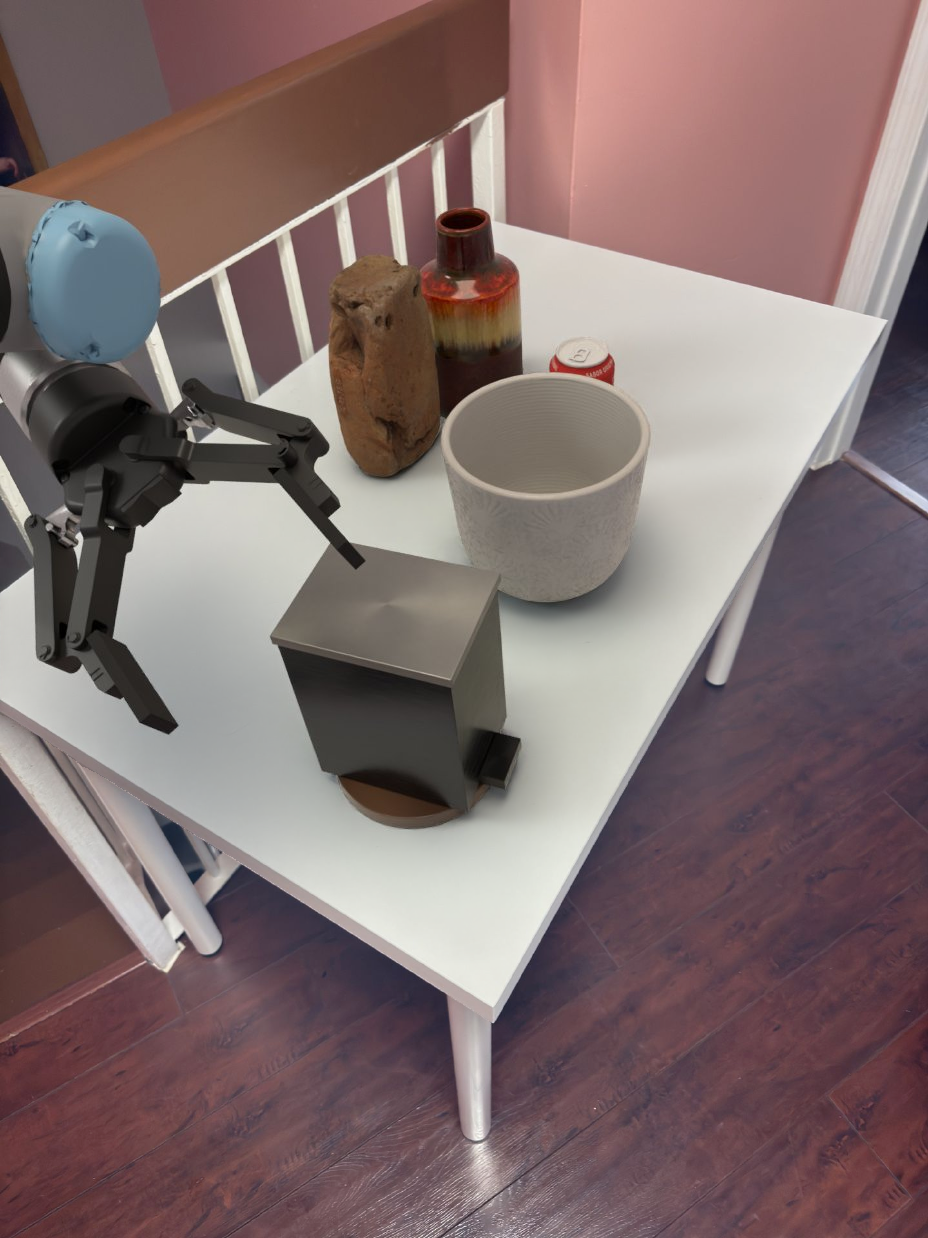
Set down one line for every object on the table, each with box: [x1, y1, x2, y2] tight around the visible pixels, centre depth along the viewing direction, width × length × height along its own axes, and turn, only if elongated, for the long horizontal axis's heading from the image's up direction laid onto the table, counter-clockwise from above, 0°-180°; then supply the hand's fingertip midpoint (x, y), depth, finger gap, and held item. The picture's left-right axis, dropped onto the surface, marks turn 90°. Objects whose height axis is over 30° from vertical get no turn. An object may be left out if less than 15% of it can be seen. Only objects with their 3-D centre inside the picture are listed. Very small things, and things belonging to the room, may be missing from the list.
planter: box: [440, 371, 651, 603], centre depth 80 cm, size 17×17×15 cm
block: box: [327, 253, 441, 478], centre depth 91 cm, size 11×8×20 cm
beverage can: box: [548, 336, 616, 387], centre depth 91 cm, size 6×6×12 cm
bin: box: [269, 541, 522, 814], centre depth 65 cm, size 9×14×16 cm, turn 70°
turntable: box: [336, 775, 491, 829], centre depth 71 cm, size 13×13×2 cm
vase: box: [419, 206, 524, 419], centre depth 97 cm, size 11×11×20 cm
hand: (256, 640), depth 49 cm, fingers open, 13 cm apart
